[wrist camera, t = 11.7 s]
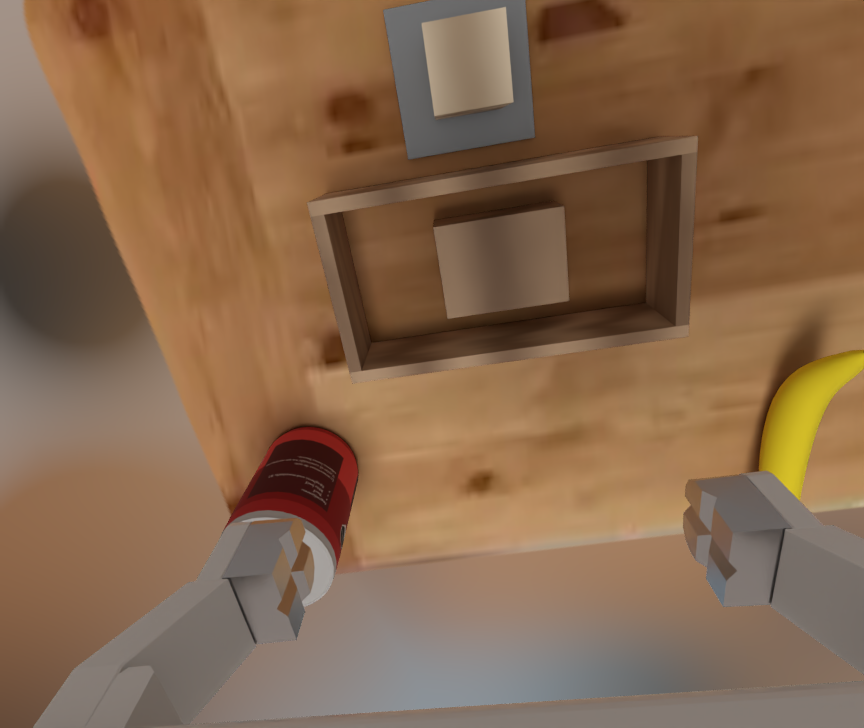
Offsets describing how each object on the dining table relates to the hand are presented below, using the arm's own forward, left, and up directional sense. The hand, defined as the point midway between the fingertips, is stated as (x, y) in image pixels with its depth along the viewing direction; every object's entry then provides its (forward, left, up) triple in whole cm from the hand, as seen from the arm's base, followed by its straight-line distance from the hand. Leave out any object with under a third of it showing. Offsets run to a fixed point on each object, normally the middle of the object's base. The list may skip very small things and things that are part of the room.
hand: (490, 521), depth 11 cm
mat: (-2, -11, -26) cm, 28 cm away
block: (-2, -11, -26) cm, 28 cm away
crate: (-3, 0, -26) cm, 26 cm away
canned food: (+14, +15, -27) cm, 34 cm away
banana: (-23, +17, -27) cm, 39 cm away
